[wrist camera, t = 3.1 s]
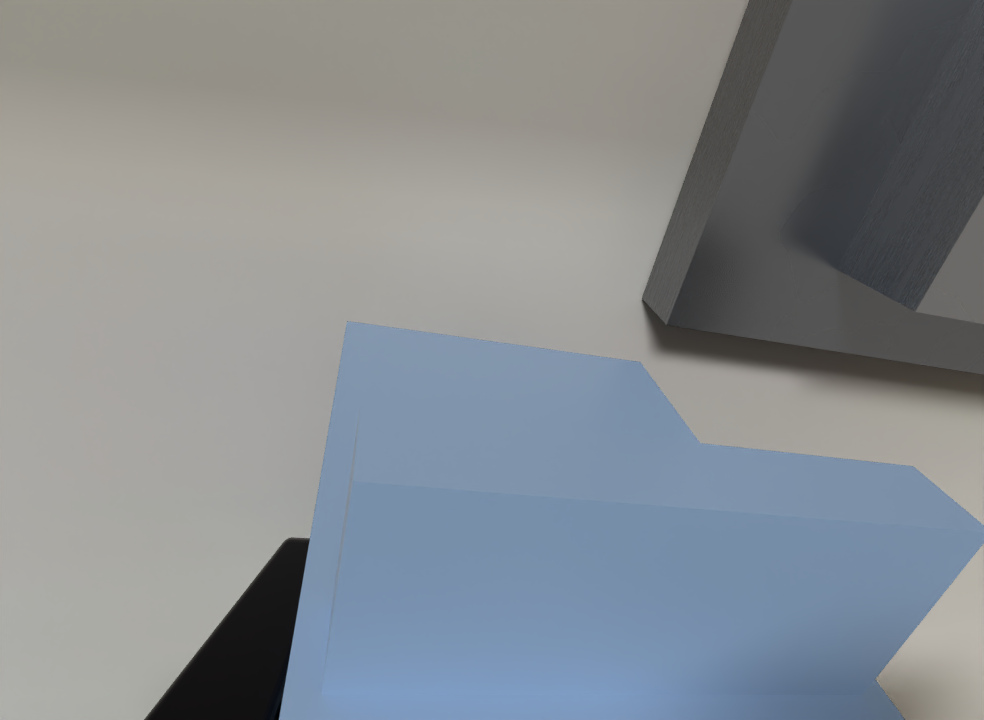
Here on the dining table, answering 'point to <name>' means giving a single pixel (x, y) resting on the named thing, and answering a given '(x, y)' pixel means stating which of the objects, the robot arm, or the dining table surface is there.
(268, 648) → the robot arm
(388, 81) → the dining table surface
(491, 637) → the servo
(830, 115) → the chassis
